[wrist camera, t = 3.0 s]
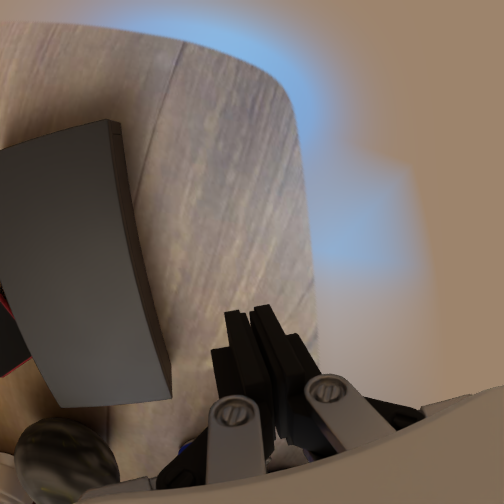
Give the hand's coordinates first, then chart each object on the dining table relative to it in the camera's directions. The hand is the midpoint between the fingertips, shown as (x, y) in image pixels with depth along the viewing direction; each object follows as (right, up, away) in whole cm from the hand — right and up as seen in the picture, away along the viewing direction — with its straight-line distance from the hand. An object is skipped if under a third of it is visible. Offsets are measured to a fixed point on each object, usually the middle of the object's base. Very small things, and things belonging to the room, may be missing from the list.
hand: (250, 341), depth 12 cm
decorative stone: (-17, -14, +13) cm, 26 cm away
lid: (-11, +2, +8) cm, 14 cm away
